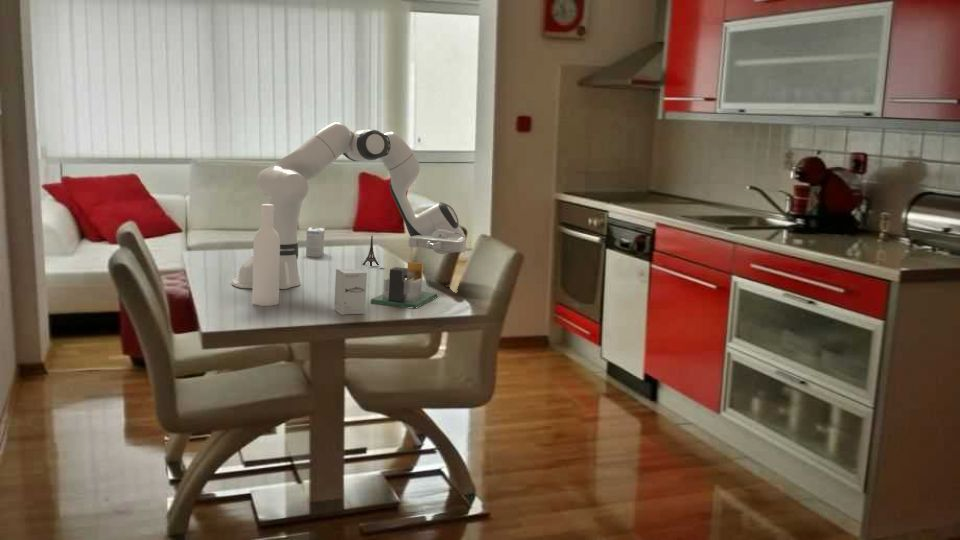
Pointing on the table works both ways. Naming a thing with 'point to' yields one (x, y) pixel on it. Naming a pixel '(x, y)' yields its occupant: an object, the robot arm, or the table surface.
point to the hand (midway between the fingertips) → (430, 246)
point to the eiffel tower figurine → (371, 255)
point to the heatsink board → (403, 290)
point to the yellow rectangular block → (414, 270)
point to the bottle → (266, 260)
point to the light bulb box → (315, 242)
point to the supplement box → (350, 291)
